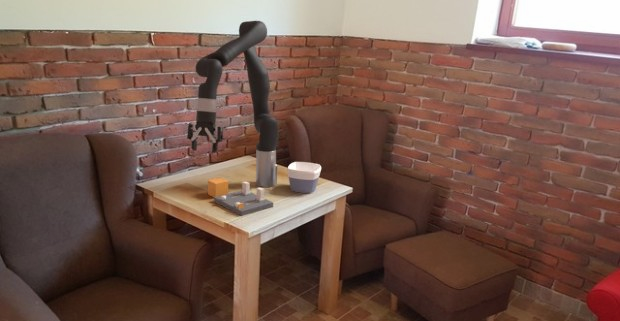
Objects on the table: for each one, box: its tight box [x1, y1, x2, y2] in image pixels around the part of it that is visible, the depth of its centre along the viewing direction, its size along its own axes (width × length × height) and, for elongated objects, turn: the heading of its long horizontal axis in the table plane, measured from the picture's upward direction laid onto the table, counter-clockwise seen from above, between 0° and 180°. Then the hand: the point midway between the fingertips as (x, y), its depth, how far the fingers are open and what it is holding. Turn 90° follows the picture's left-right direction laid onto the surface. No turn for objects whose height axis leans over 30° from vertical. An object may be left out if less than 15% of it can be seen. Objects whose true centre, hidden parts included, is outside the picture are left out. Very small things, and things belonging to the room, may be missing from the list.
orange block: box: [207, 177, 229, 198], centre depth 202 cm, size 6×6×7 cm
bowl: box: [286, 161, 322, 194], centre depth 214 cm, size 15×15×11 cm
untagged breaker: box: [241, 181, 252, 196], centre depth 199 cm, size 3×3×5 cm
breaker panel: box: [213, 189, 274, 217], centre depth 193 cm, size 16×20×4 cm
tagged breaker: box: [255, 187, 266, 202], centre depth 192 cm, size 3×3×5 cm
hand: (204, 151), depth 182 cm, fingers open, 8 cm apart
